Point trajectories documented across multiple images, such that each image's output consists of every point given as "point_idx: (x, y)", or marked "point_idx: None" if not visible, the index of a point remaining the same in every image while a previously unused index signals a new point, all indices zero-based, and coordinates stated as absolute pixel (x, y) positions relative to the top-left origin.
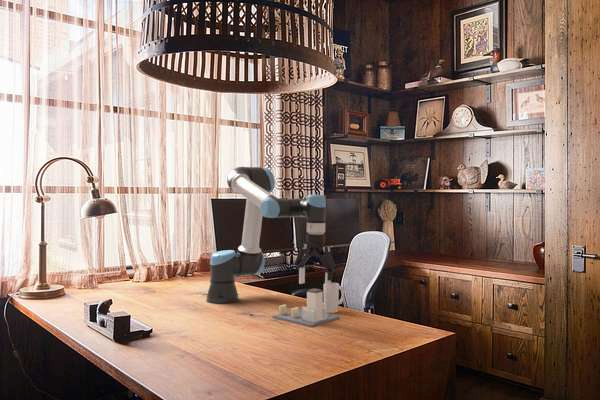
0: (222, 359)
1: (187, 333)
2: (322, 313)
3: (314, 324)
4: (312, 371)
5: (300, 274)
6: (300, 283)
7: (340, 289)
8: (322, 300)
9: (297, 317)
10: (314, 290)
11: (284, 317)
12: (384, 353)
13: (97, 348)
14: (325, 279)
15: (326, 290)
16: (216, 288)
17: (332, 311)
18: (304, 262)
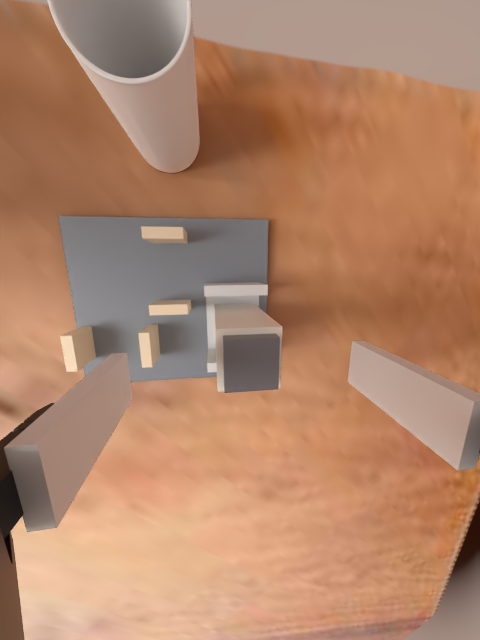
0: (280, 619)
1: (82, 613)
2: (258, 307)
3: None
4: (430, 548)
5: (99, 453)
6: (131, 399)
7: None
8: (270, 317)
9: (168, 340)
10: (269, 387)
11: (136, 371)
12: None
13: None
14: (396, 418)
15: (143, 113)
16: None
17: (193, 159)
18: (9, 603)
